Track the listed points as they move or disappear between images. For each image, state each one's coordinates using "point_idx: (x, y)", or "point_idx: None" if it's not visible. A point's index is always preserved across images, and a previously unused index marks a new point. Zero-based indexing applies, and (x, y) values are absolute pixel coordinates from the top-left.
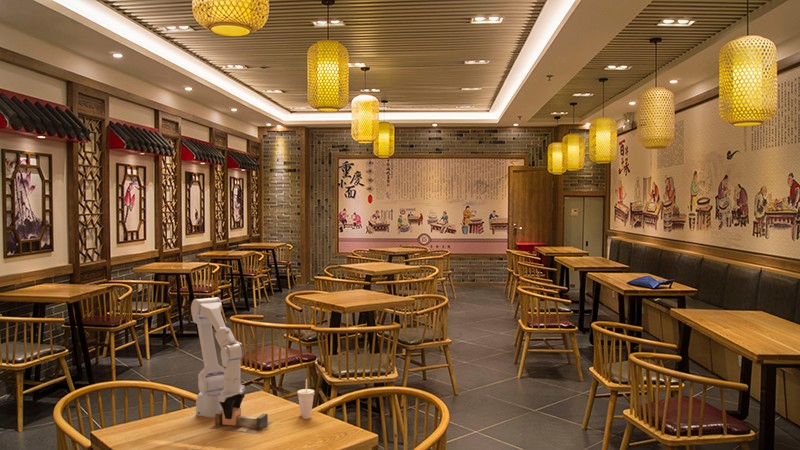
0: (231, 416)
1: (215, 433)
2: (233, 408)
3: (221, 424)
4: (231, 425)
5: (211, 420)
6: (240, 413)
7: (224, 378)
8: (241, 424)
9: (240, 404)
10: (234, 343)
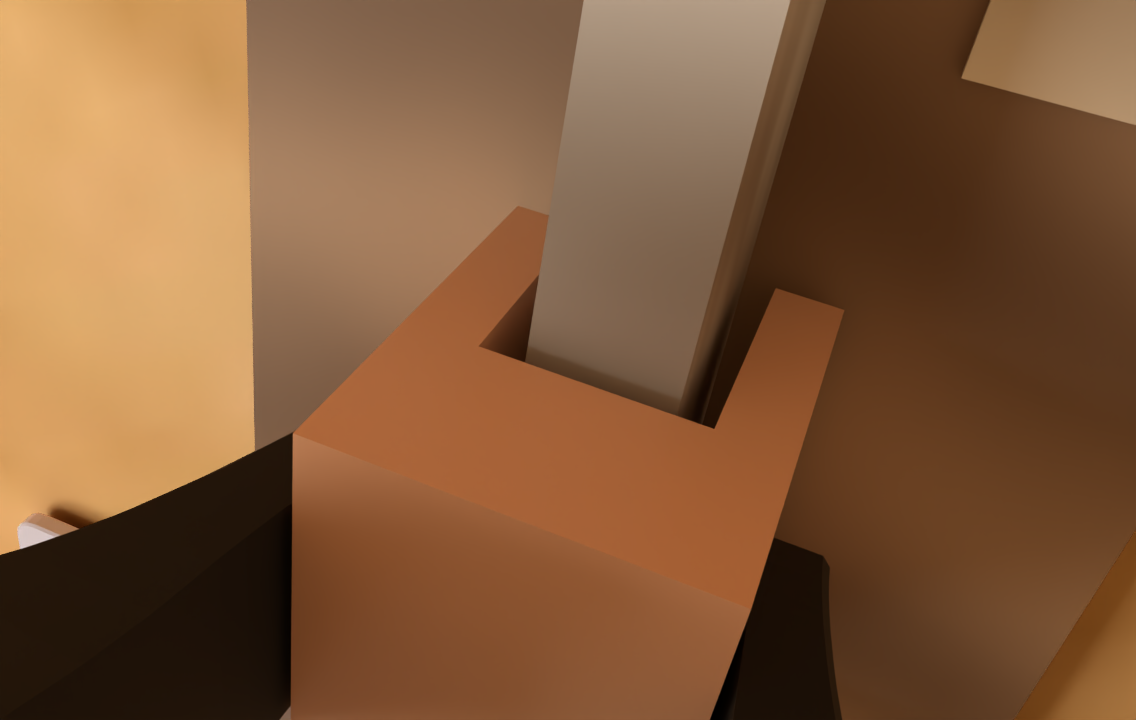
0: (796, 590)
1: (1121, 652)
2: (389, 665)
3: None
4: None
5: None
6: (434, 346)
7: None
8: (780, 142)
9: (124, 532)
10: None
